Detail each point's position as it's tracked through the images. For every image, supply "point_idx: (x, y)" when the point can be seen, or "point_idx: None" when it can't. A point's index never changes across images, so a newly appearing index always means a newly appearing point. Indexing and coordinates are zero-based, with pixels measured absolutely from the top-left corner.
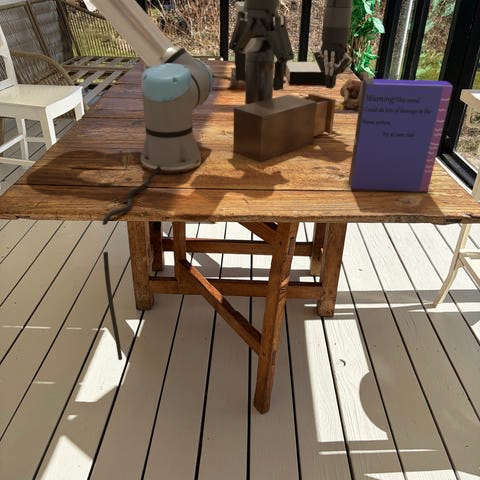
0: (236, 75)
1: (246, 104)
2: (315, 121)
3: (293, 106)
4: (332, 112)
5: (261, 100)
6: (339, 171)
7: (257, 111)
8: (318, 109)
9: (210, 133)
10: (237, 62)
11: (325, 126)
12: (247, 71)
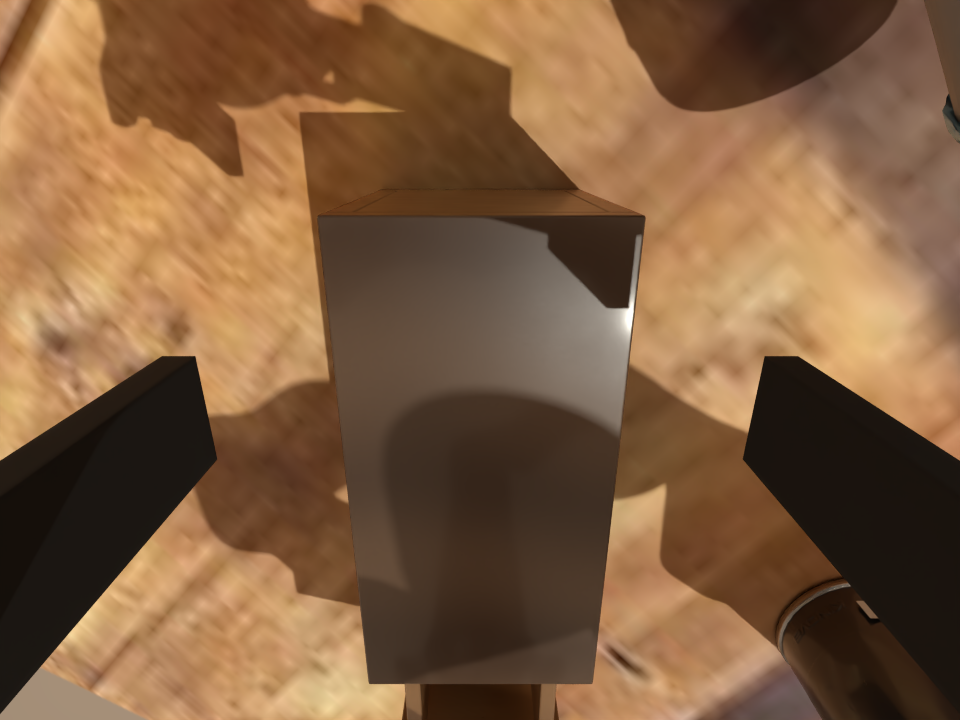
0: (819, 378)
1: None
2: None
3: (380, 540)
4: (404, 710)
5: (842, 664)
6: (102, 372)
7: (442, 286)
8: None
9: (848, 277)
10: (931, 468)
11: None
12: None
